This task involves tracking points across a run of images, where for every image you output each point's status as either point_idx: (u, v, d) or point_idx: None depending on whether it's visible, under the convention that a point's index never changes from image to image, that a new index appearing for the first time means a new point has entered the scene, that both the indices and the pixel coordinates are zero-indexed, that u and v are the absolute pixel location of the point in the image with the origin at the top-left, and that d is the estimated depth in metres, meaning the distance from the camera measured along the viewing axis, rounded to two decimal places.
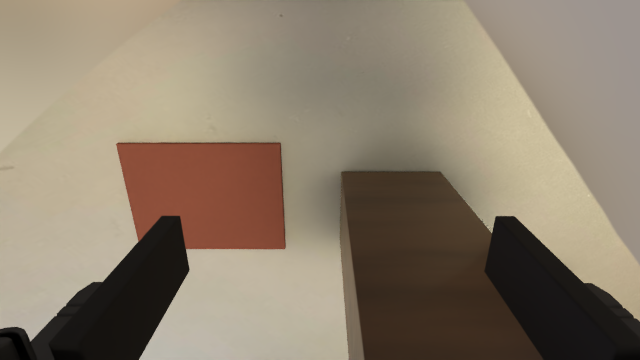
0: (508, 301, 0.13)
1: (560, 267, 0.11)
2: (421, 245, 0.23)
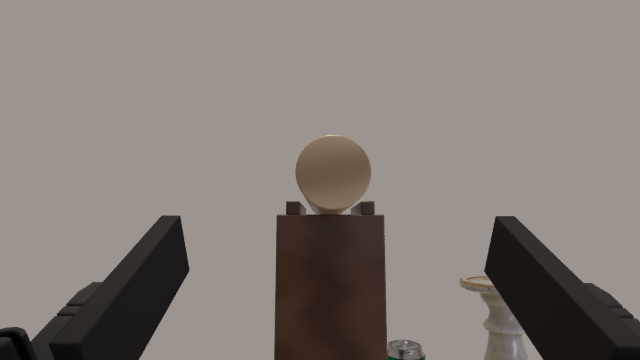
0: (508, 301, 0.13)
1: (560, 267, 0.11)
2: None
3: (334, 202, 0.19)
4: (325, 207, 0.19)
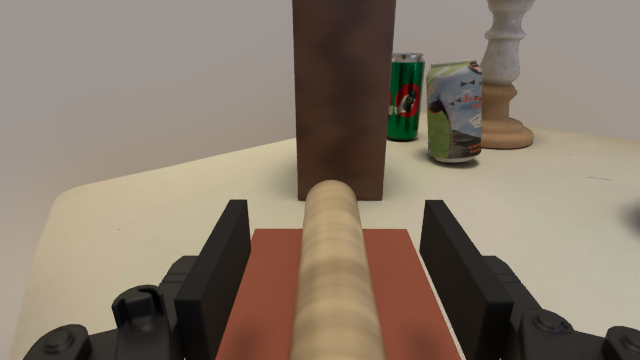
0: (432, 276, 0.15)
1: (465, 241, 0.13)
2: None
3: None
4: None
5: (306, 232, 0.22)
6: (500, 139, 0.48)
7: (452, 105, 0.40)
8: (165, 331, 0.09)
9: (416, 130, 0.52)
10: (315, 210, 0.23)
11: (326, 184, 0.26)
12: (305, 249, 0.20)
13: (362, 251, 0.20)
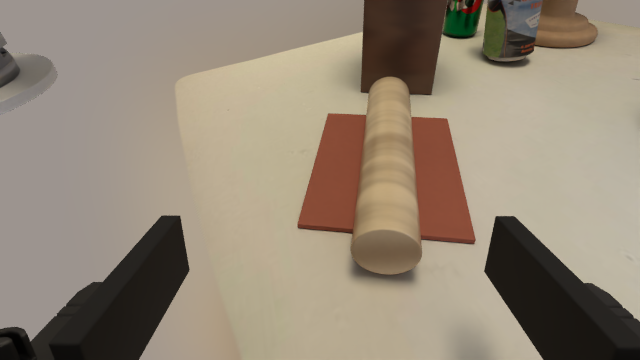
0: (508, 301, 0.13)
1: (560, 267, 0.11)
2: None
3: (385, 271, 0.21)
4: (378, 272, 0.22)
5: (370, 115, 0.30)
6: (558, 38, 0.49)
7: (511, 4, 0.42)
8: None
9: (475, 26, 0.54)
10: (377, 99, 0.31)
11: (387, 80, 0.34)
12: (369, 126, 0.29)
13: (409, 130, 0.28)
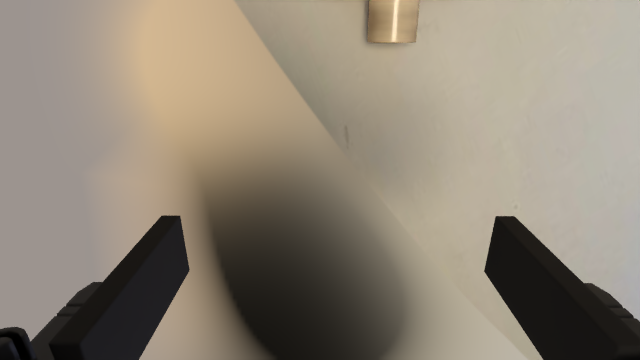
0: (508, 301, 0.13)
1: (560, 267, 0.11)
2: None
3: None
4: None
5: None
6: None
7: None
8: None
9: None
10: None
11: None
12: None
13: None
